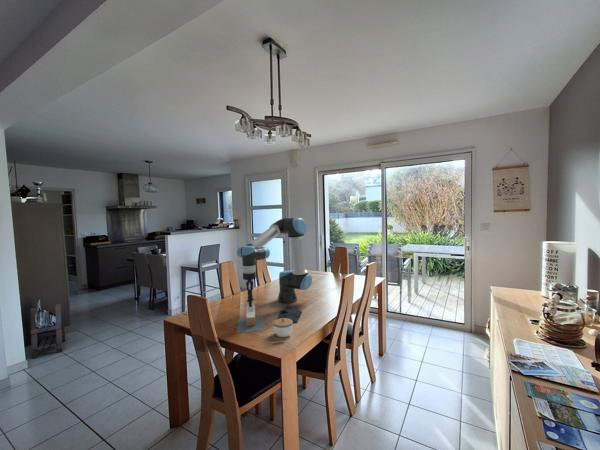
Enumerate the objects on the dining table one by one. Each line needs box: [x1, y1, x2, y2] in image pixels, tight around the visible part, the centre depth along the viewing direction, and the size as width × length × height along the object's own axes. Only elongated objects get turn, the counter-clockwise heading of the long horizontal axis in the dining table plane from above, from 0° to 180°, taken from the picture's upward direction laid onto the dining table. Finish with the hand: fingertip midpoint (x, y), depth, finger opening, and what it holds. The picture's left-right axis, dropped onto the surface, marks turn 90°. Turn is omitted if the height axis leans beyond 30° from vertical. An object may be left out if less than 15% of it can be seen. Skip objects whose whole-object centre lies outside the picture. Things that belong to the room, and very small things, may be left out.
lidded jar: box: [273, 318, 294, 338], centre depth 148 cm, size 11×11×9 cm
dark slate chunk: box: [277, 304, 303, 324], centre depth 176 cm, size 15×22×5 cm
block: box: [245, 304, 256, 326], centre depth 165 cm, size 5×6×12 cm
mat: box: [235, 315, 266, 334], centre depth 164 cm, size 16×22×1 cm
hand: (250, 311), depth 160 cm, fingers closed
